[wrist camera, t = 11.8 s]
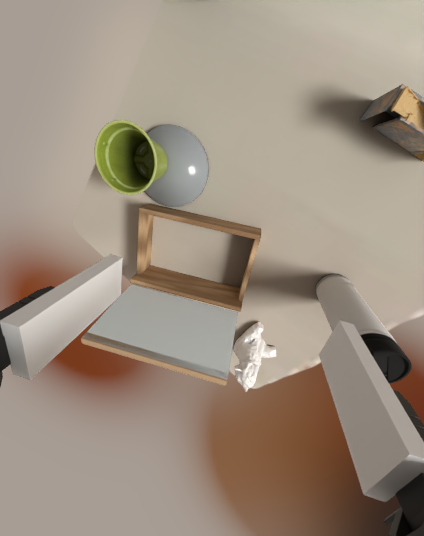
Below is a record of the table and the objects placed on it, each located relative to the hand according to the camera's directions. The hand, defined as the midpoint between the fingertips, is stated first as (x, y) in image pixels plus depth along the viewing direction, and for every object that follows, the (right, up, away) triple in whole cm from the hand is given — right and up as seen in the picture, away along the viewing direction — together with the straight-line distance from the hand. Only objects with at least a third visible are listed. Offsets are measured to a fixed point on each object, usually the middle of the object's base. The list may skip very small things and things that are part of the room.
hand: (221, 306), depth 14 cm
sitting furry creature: (+9, -15, +39) cm, 43 cm away
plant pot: (-11, +21, +26) cm, 35 cm away
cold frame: (-3, +6, +32) cm, 33 cm away
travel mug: (+23, -1, +30) cm, 38 cm away
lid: (-7, -7, +23) cm, 25 cm away
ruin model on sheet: (+26, +22, +19) cm, 39 cm away
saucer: (-8, +20, +27) cm, 34 cm away
